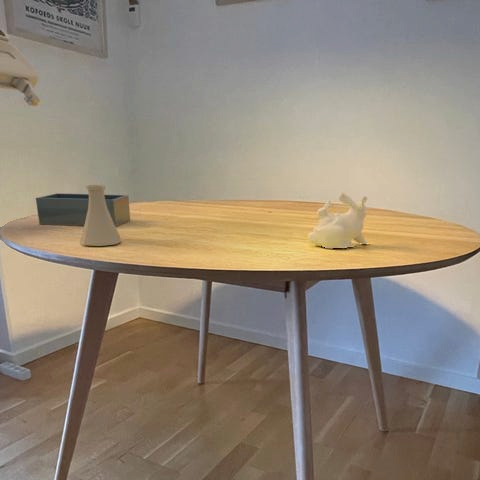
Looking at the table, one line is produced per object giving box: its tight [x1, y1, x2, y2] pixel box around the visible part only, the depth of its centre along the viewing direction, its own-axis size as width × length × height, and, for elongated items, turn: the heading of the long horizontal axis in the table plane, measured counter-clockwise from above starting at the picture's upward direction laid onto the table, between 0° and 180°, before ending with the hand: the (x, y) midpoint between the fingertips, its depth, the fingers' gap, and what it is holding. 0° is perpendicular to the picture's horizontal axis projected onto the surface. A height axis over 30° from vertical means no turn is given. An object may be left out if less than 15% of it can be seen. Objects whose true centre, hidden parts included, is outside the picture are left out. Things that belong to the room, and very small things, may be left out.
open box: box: [35, 192, 131, 228], centre depth 103 cm, size 17×9×6 cm, turn 83°
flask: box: [79, 184, 122, 247], centre depth 82 cm, size 7×7×10 cm
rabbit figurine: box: [307, 191, 369, 249], centre depth 81 cm, size 12×8×10 cm, turn 89°
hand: (16, 101), depth 79 cm, fingers open, 8 cm apart
